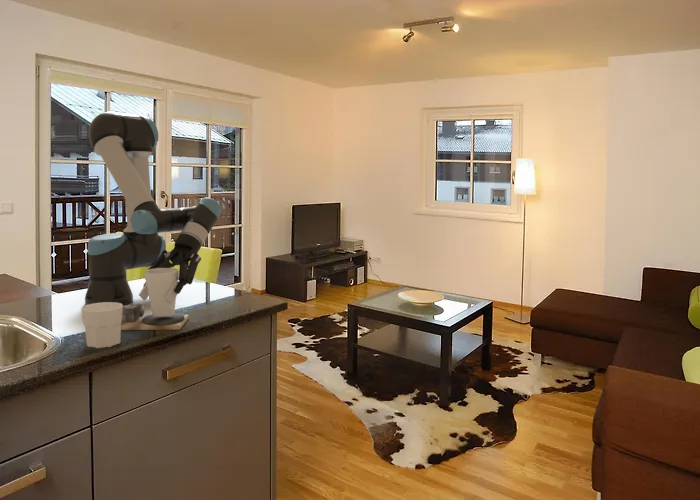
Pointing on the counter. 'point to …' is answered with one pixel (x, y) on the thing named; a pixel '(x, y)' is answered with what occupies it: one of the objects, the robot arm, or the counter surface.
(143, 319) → the shaft stand
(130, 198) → the robot arm
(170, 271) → the foam cup
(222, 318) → the counter surface
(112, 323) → the cup
